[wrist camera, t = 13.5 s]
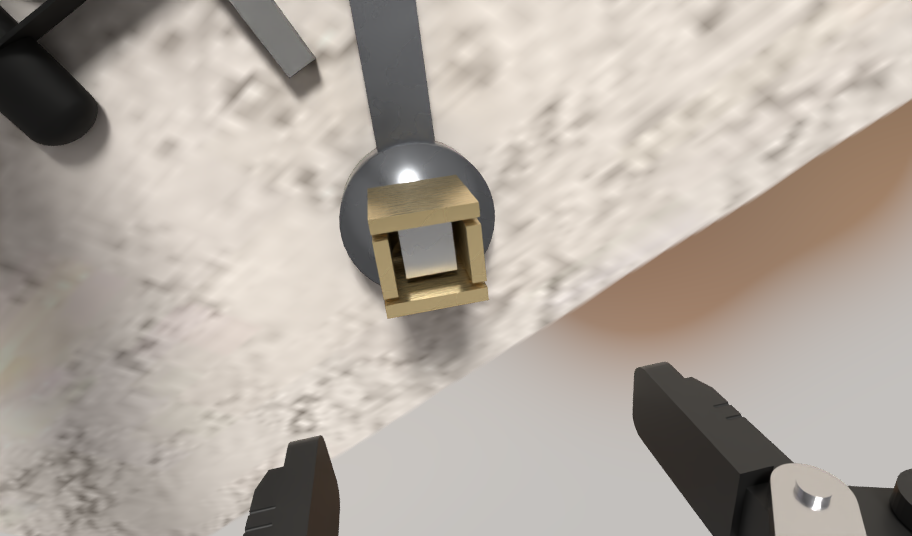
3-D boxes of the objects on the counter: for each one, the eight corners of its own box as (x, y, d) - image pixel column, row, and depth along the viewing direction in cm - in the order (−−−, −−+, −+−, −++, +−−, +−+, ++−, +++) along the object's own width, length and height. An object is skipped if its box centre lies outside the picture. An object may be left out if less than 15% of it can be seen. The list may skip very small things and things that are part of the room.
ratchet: (358, 288, 31) (356, 345, 25) (258, -144, 22) (215, -229, 16) (491, 263, 32) (522, 312, 26) (448, -160, 23) (480, -246, 17)
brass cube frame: (383, 270, 28) (387, 318, 23) (367, 188, 26) (367, 220, 21) (465, 255, 29) (488, 299, 23) (456, 174, 27) (478, 202, 21)
